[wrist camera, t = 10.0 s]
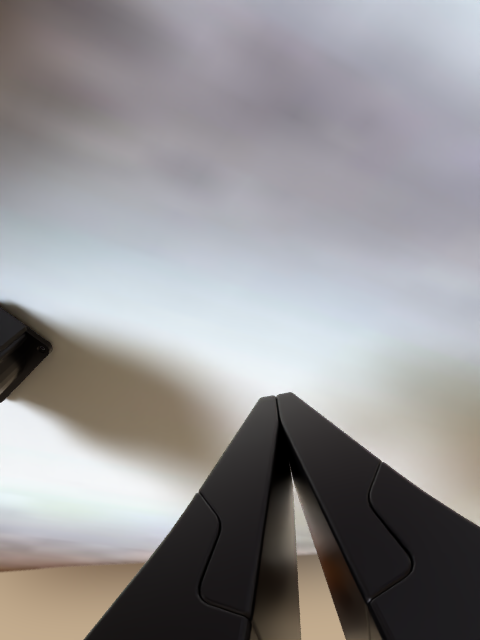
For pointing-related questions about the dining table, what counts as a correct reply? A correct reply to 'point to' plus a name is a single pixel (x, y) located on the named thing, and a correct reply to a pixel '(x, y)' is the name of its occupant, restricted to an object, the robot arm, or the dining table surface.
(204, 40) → the dining table surface
